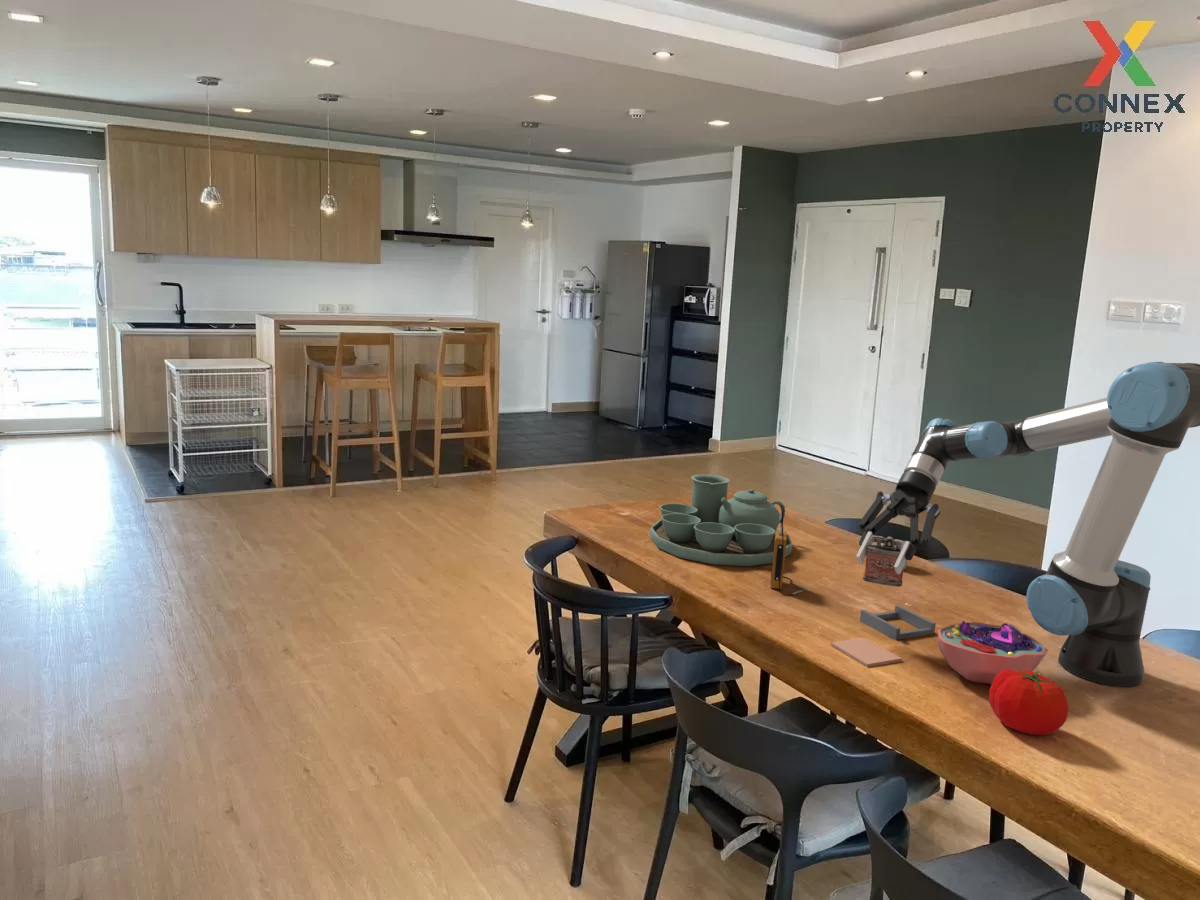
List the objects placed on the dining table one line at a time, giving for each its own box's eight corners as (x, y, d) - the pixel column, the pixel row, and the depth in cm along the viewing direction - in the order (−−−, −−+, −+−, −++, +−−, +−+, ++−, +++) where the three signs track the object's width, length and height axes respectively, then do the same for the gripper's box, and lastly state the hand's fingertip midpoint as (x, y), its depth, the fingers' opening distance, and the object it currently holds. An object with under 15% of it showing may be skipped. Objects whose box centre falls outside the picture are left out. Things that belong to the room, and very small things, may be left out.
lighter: (902, 583, 188) (908, 538, 186) (901, 588, 185) (908, 542, 183) (863, 576, 190) (868, 532, 188) (862, 581, 187) (867, 536, 185)
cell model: (919, 656, 181) (926, 604, 178) (1017, 663, 180) (1025, 611, 178) (948, 694, 164) (957, 637, 162) (1056, 702, 164) (1066, 645, 161)
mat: (901, 661, 178) (901, 658, 178) (866, 667, 174) (867, 664, 174) (863, 640, 188) (864, 637, 187) (830, 645, 184) (830, 642, 184)
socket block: (934, 633, 193) (935, 623, 193) (895, 640, 189) (897, 629, 188) (897, 615, 203) (898, 605, 203) (859, 620, 198) (861, 610, 198)
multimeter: (812, 599, 211) (821, 518, 207) (770, 594, 212) (777, 514, 209) (810, 579, 225) (818, 504, 221) (770, 575, 227) (778, 499, 223)
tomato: (999, 705, 161) (1008, 652, 159) (1073, 733, 152) (1083, 678, 150) (972, 723, 154) (981, 668, 152) (1048, 753, 145) (1058, 696, 143)
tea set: (622, 539, 251) (625, 483, 248) (712, 519, 278) (717, 468, 275) (730, 578, 223) (736, 515, 220) (820, 552, 250) (826, 496, 247)
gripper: (969, 499, 188) (929, 587, 180) (879, 480, 202) (837, 561, 193) (963, 479, 183) (922, 568, 175) (871, 460, 197) (828, 543, 188)
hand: (877, 564), depth 184 cm, fingers closed on lighter, 8 cm apart
